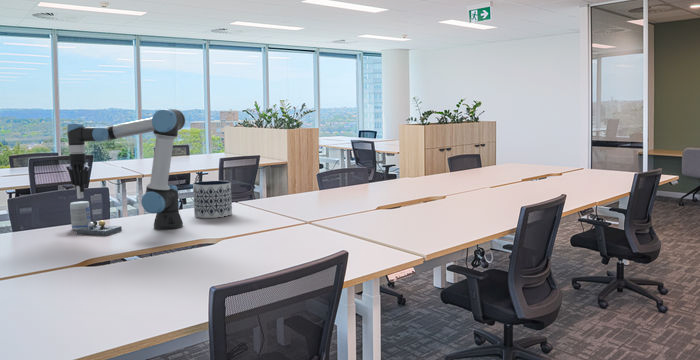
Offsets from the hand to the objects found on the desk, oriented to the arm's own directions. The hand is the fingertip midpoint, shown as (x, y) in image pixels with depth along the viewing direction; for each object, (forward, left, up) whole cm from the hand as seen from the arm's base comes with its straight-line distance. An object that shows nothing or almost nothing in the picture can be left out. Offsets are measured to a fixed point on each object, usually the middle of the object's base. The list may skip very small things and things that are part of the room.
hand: (80, 198), depth 279 cm
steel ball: (-6, 0, -14) cm, 15 cm away
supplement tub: (+8, -8, -19) cm, 22 cm away
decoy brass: (-8, -5, -14) cm, 17 cm away
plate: (-9, -2, -18) cm, 21 cm away
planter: (-44, -59, -19) cm, 76 cm away
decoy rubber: (-3, -5, -14) cm, 15 cm away
